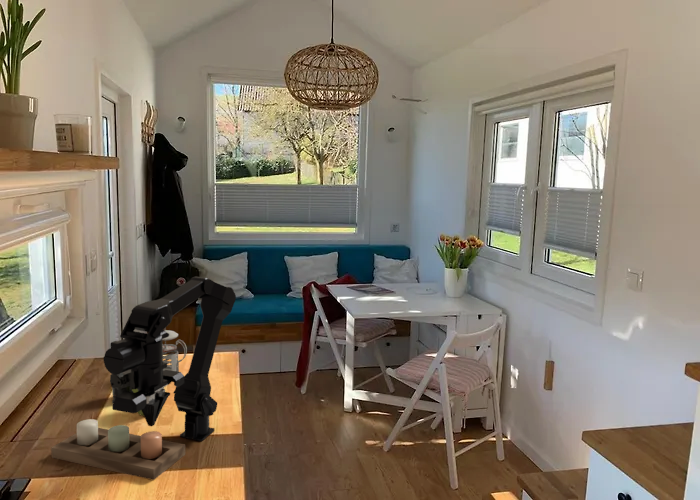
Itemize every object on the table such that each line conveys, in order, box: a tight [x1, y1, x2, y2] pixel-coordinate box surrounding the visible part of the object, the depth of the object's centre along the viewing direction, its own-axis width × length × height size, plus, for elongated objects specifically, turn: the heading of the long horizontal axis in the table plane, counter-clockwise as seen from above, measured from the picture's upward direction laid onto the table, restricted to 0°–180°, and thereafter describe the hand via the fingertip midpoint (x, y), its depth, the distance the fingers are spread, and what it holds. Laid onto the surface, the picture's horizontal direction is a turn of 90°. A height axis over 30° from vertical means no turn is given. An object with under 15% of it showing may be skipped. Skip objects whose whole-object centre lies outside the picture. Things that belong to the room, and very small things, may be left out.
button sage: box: [108, 424, 130, 453], centre depth 133 cm, size 5×5×4 cm
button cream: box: [76, 418, 99, 446], centre depth 135 cm, size 5×5×4 cm
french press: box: [162, 327, 188, 372], centre depth 183 cm, size 10×12×25 cm
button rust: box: [140, 430, 163, 460], centre depth 130 cm, size 5×5×4 cm
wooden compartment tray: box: [50, 427, 186, 481], centre depth 133 cm, size 12×28×2 cm, turn 73°
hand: (151, 425), depth 129 cm, fingers closed
